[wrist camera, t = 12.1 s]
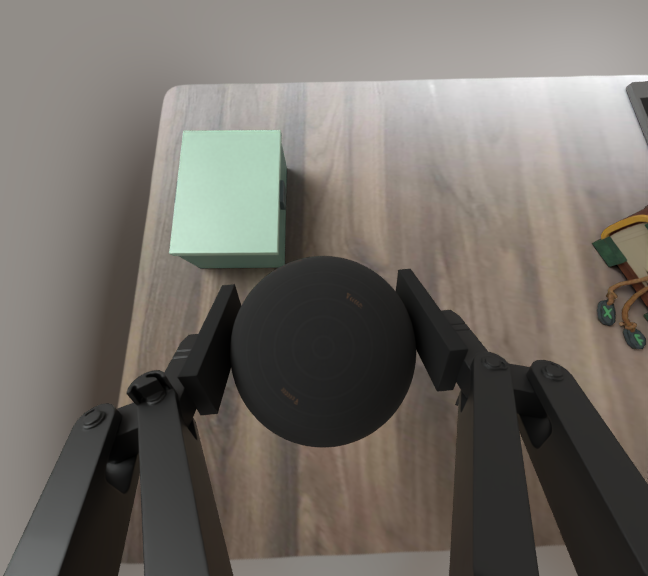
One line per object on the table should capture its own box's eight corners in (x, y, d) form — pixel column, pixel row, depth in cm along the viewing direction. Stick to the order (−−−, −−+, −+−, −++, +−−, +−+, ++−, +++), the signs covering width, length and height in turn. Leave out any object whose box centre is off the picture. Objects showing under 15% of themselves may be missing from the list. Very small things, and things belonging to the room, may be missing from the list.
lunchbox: (289, 268, 36) (281, 252, 29) (195, 269, 36) (165, 253, 29) (291, 166, 39) (284, 129, 32) (205, 167, 39) (179, 130, 32)
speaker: (298, 257, 21) (276, 185, 11) (409, 315, 20) (494, 294, 10) (232, 370, 19) (135, 405, 9) (351, 439, 18) (385, 560, 8)
